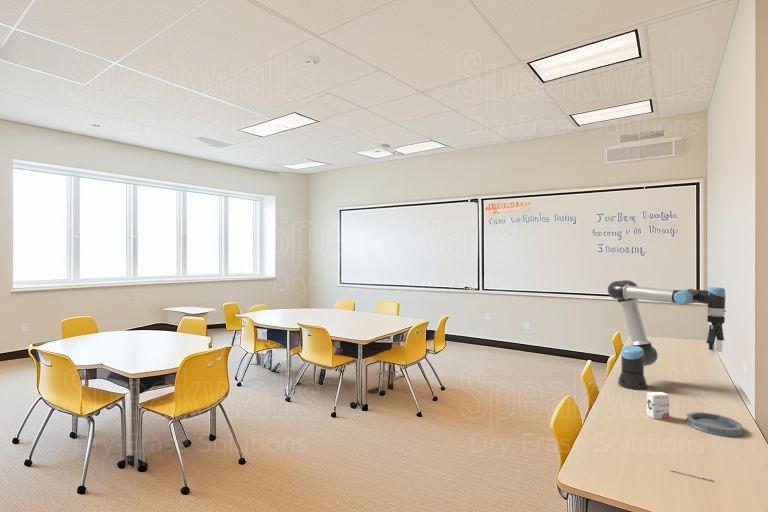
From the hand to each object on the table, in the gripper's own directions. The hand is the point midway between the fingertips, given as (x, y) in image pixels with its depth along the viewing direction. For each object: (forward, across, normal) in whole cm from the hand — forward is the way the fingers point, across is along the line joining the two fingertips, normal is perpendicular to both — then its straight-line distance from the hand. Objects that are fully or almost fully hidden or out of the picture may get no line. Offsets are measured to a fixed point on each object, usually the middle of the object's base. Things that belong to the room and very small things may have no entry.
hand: (715, 353), depth 232 cm
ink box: (+26, -52, +10) cm, 59 cm away
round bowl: (+25, -44, -11) cm, 52 cm away
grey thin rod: (+26, -103, -19) cm, 108 cm away
